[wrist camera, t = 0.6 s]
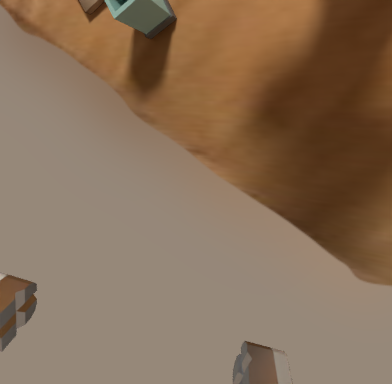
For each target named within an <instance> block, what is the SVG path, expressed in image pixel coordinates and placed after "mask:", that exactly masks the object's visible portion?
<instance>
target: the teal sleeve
mask: <svg viewBox="0 0 392 384" xmlns="http://www.w3.org/2000/svg"><path fill="white" fill-rule="evenodd" d="M105 2H106V4H107V6H108V8H109V10H110V12H111V13H112V15H113V17H114V19H116V20H118V21H120V22H122V23H124V24H126V25H128V26H130V27H133V28H135V29H137V30H139V31H141V32H143V33H144V34H145V36H146V37H147V38H149V39H152V38H153V37H154V36H156V35H157V34H158V33H159V32H161V31H162V30H163V29H164V28H166V27H167V26H168V25H170V24H171V23H172V22H173V21H175V20H176V19H177V18H176V16H175V14H174V12H173V10H172V8H171V6H170V4H169V2H168V0H105Z"/></svg>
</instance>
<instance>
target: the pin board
mask: <svg viewBox="0 0 392 384" xmlns="http://www.w3.org/2000/svg"><path fill="white" fill-rule="evenodd" d="M79 1H80V3H81V5H82V7H83V9H84V10H85V12H86V13H89V14H92V13H93V12H94V11H95V10H96V9H97V8H98V7H99V6H100V5H101V4H102V3H103V2H104V1H105V0H79Z"/></svg>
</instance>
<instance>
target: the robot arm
mask: <svg viewBox="0 0 392 384" xmlns="http://www.w3.org/2000/svg"><path fill="white" fill-rule="evenodd" d="M36 291H37V284H36V283H34V282H31V281H28V280H24V279H21V278H18V277H15V276H12V275H8V274H5V273H1V272H0V351H3V350H4V349H5V348H6V346H7V345H8V344H9V343H10V342H11V341H12V339H13V338H14V337H15V336H16V332H17V328H19V327H21V326H23V325H25V324H26V323H27V322H28V321H29V319H30V318H31V316H32V315H33V313H34V311H35V308H36V304H37V299H36V297H35V296H34V294H33V293H35V292H36ZM233 384H293V383H292V378H291V374H290V369H289V364H288V360H287V355H286V353H285V352H283V351H280V350H276V349H273V348H270V347H266V346H262V345H258V344H255V343H251V342H247V341H245V342H244V343H243V344H242V347H241V354H239V355H238V356H237V358H236V361H235V365H234V370H233Z"/></svg>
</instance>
